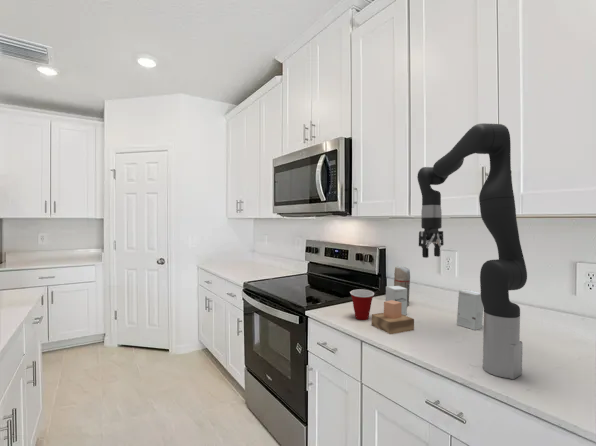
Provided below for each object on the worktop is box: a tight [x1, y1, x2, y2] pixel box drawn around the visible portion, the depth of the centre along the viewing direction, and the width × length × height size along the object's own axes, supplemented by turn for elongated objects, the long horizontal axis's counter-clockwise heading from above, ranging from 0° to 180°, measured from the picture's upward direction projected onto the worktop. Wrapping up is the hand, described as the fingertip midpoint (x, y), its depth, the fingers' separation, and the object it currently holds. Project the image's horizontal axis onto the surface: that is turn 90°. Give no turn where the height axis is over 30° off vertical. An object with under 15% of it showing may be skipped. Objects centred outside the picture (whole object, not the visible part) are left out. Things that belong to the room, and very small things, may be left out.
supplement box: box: [385, 285, 408, 316], centre depth 158 cm, size 7×7×13 cm
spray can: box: [393, 265, 411, 307], centre depth 175 cm, size 8×8×20 cm
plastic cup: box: [349, 288, 375, 321], centre depth 150 cm, size 11×11×12 cm
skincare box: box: [456, 289, 484, 331], centre depth 140 cm, size 8×6×15 cm
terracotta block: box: [383, 300, 402, 319], centre depth 138 cm, size 5×5×6 cm
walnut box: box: [371, 312, 415, 335], centre depth 138 cm, size 12×12×5 cm
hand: (431, 256), depth 134 cm, fingers open, 8 cm apart
